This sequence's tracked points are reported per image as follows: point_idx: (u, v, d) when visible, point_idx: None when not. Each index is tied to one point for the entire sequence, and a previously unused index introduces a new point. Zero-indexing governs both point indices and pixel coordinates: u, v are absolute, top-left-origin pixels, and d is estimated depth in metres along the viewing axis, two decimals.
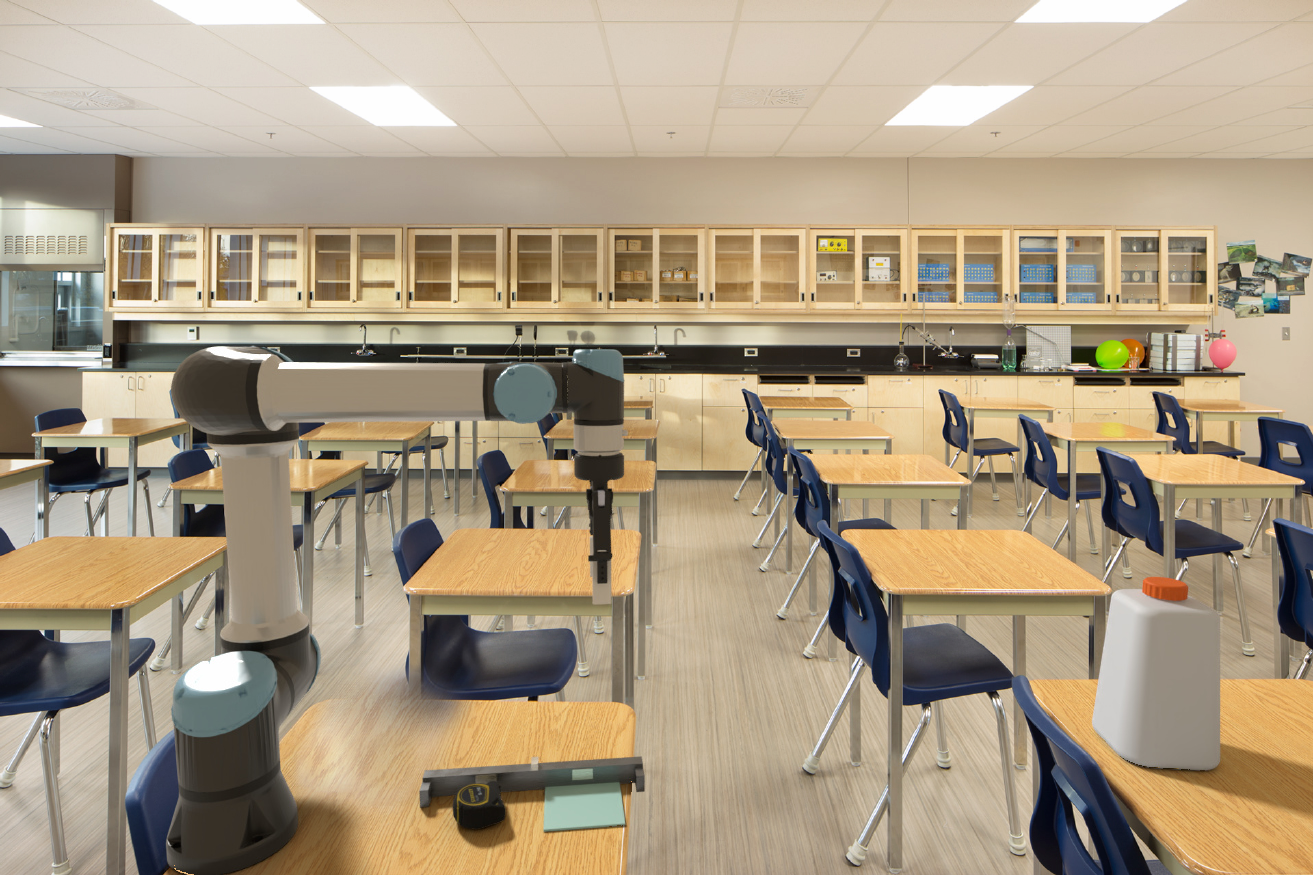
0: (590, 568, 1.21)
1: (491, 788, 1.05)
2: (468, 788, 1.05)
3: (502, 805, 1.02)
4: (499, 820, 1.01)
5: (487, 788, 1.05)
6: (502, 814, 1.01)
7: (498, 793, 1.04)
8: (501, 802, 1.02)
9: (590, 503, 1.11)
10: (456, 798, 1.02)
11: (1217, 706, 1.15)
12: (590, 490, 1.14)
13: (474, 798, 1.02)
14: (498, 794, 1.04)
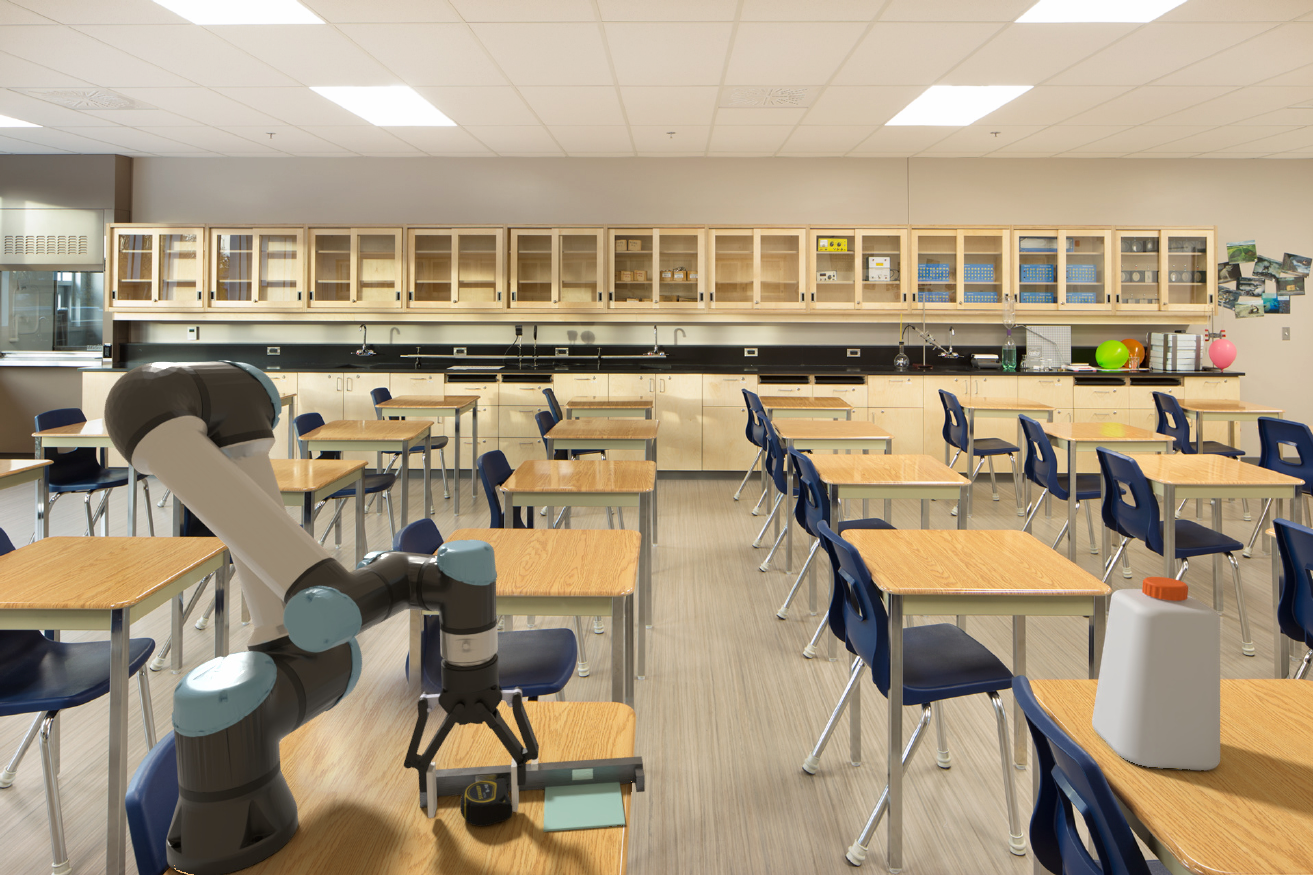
0: None
1: (499, 785, 1.05)
2: (476, 785, 1.05)
3: (509, 802, 1.02)
4: (506, 817, 1.02)
5: (495, 785, 1.06)
6: (509, 811, 1.02)
7: (505, 790, 1.05)
8: (508, 799, 1.03)
9: None
10: (464, 795, 1.03)
11: (1217, 706, 1.15)
12: None
13: (482, 795, 1.03)
14: (505, 791, 1.04)
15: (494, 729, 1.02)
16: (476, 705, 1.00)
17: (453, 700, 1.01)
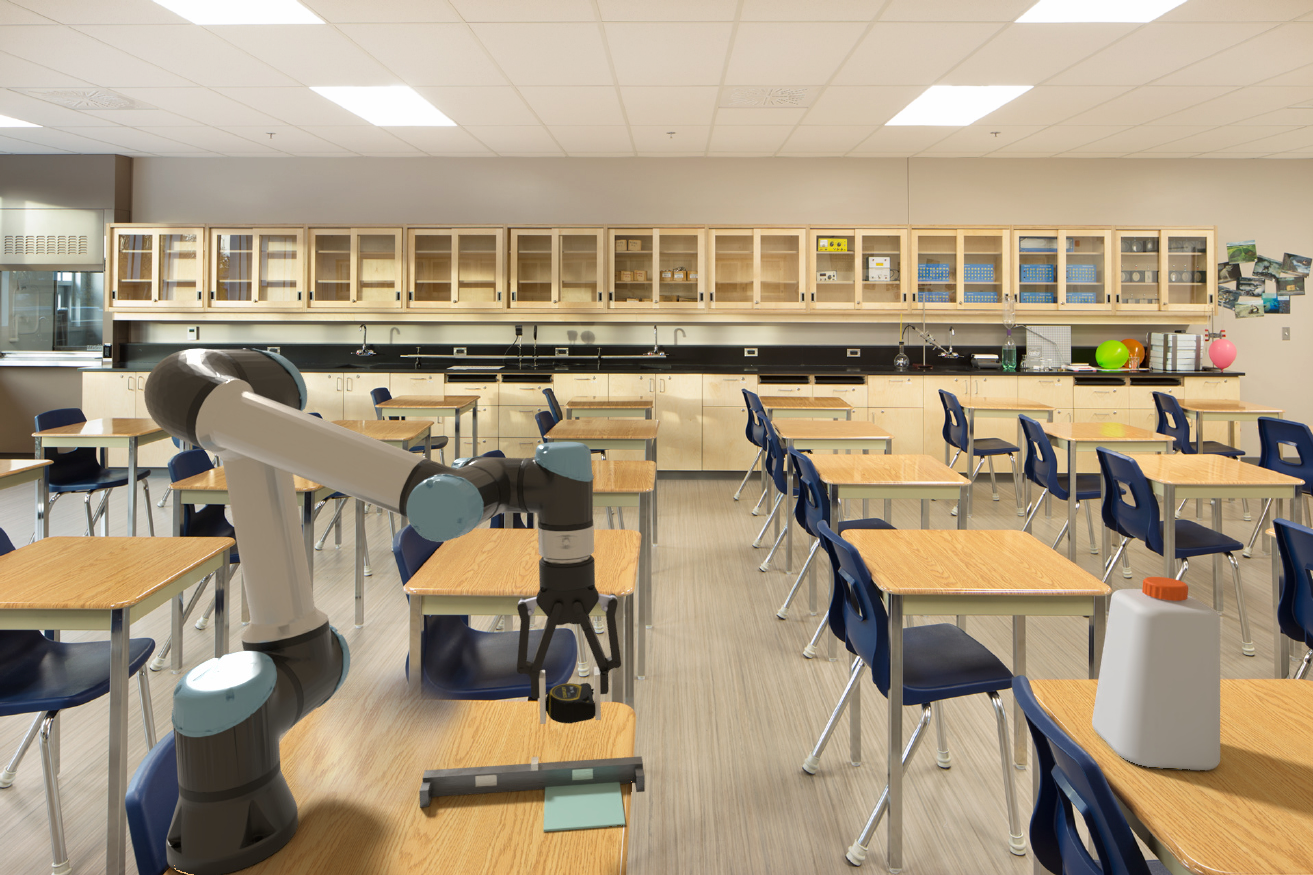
0: None
1: (584, 688, 1.06)
2: (561, 686, 1.06)
3: (592, 703, 1.02)
4: (589, 717, 1.02)
5: (579, 688, 1.06)
6: (592, 711, 1.02)
7: (590, 693, 1.05)
8: (591, 700, 1.03)
9: None
10: (549, 693, 1.04)
11: (1217, 706, 1.15)
12: None
13: (566, 695, 1.04)
14: (589, 693, 1.05)
15: (585, 632, 1.02)
16: (575, 604, 1.01)
17: (551, 598, 1.01)
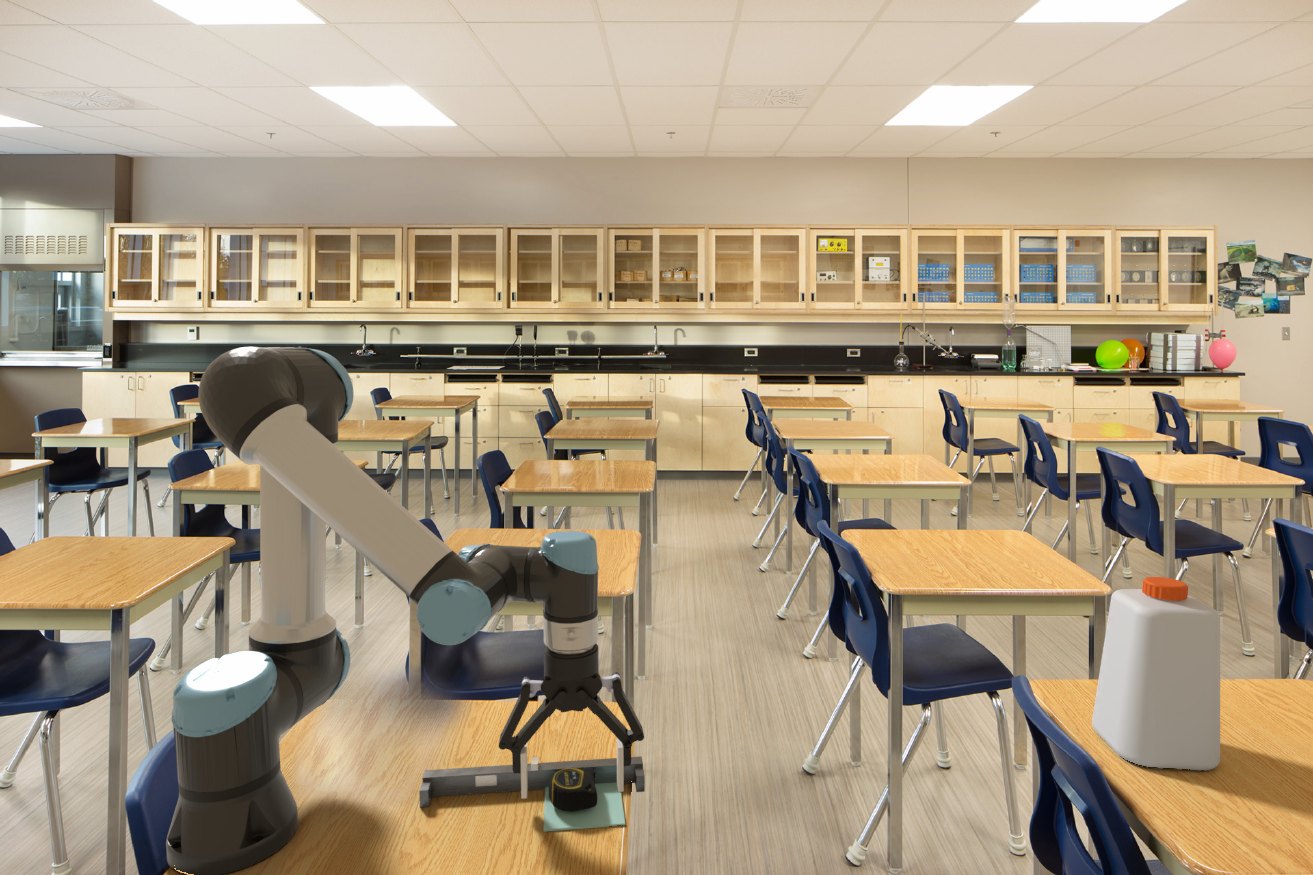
0: None
1: (586, 773, 1.08)
2: (564, 771, 1.08)
3: (594, 791, 1.04)
4: (591, 805, 1.04)
5: (582, 773, 1.08)
6: (594, 800, 1.04)
7: (592, 779, 1.07)
8: (594, 788, 1.05)
9: None
10: (552, 780, 1.06)
11: (1217, 706, 1.15)
12: None
13: (568, 782, 1.06)
14: (591, 780, 1.06)
15: (598, 714, 1.04)
16: (578, 693, 1.02)
17: (555, 688, 1.03)
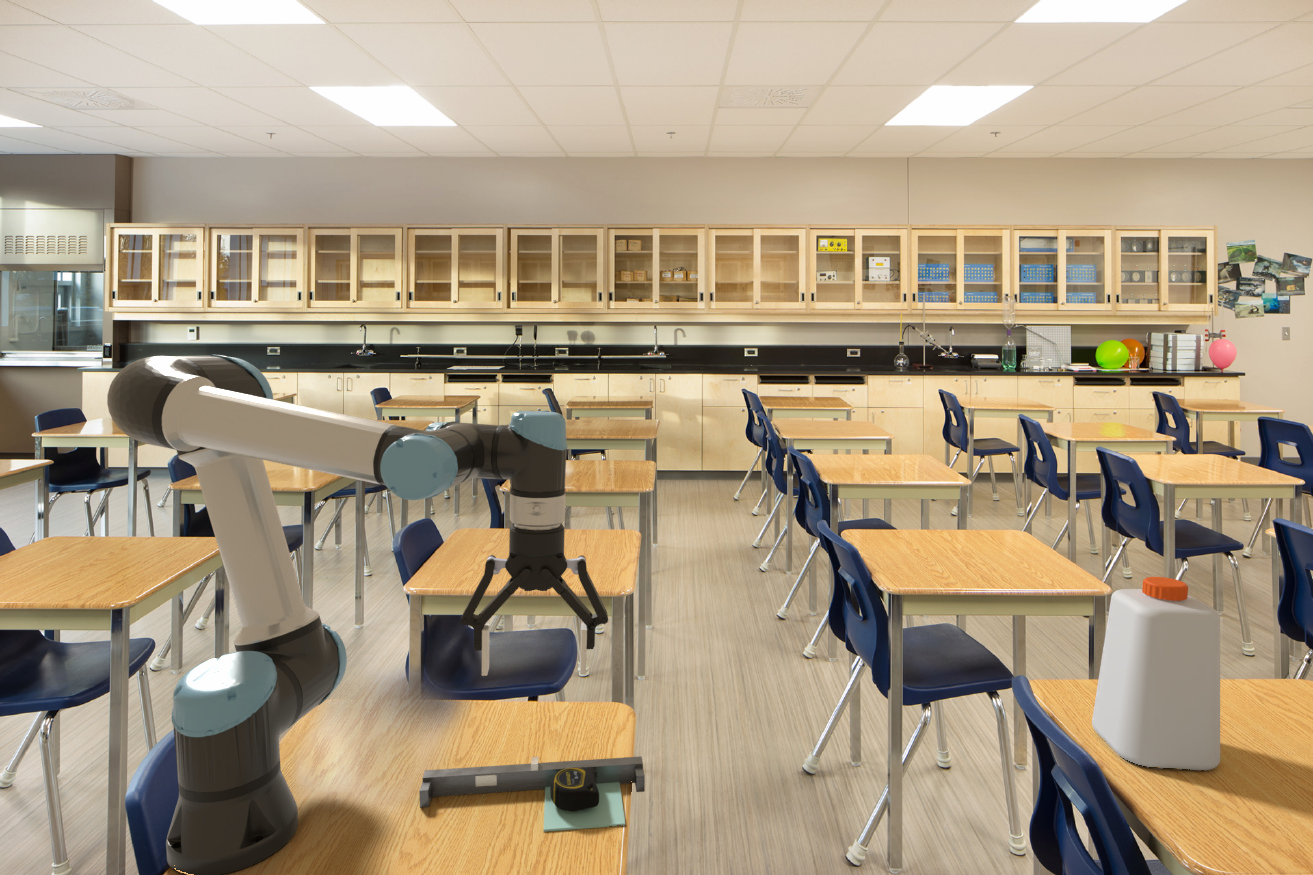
0: (580, 657, 1.08)
1: (587, 773, 1.08)
2: (565, 771, 1.08)
3: (596, 791, 1.04)
4: (593, 805, 1.04)
5: (583, 773, 1.08)
6: (595, 799, 1.04)
7: (593, 779, 1.07)
8: (595, 788, 1.05)
9: None
10: (553, 779, 1.06)
11: (1217, 706, 1.15)
12: None
13: (570, 781, 1.06)
14: (593, 780, 1.06)
15: (562, 595, 1.04)
16: (542, 571, 1.02)
17: (520, 567, 1.03)
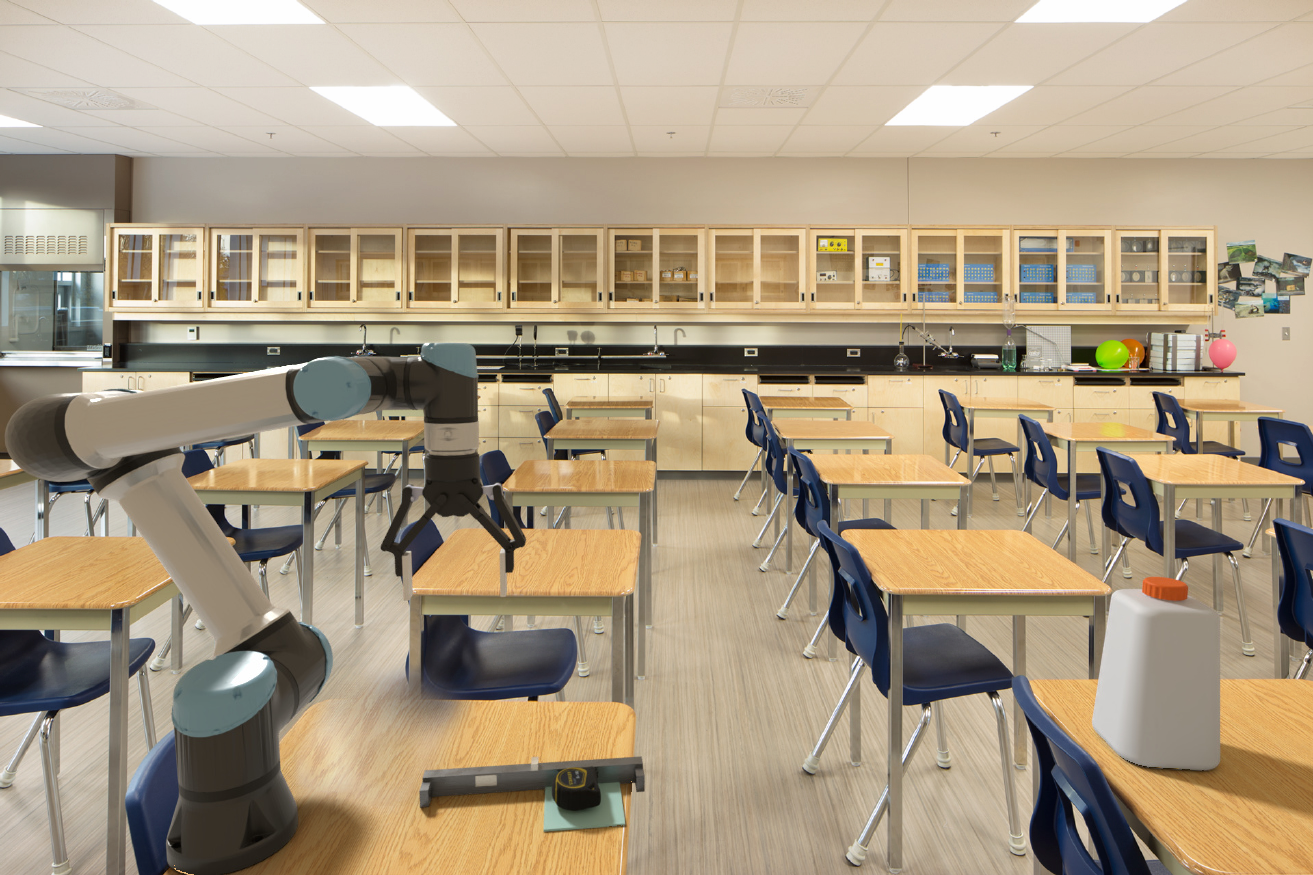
0: None
1: (589, 773, 1.08)
2: (567, 771, 1.08)
3: (598, 790, 1.04)
4: (595, 805, 1.04)
5: (585, 772, 1.08)
6: (597, 799, 1.04)
7: (595, 778, 1.07)
8: (597, 787, 1.05)
9: None
10: (555, 779, 1.06)
11: (1217, 706, 1.15)
12: None
13: (572, 781, 1.06)
14: (595, 779, 1.07)
15: (479, 520, 1.07)
16: (458, 497, 1.06)
17: (436, 493, 1.06)
